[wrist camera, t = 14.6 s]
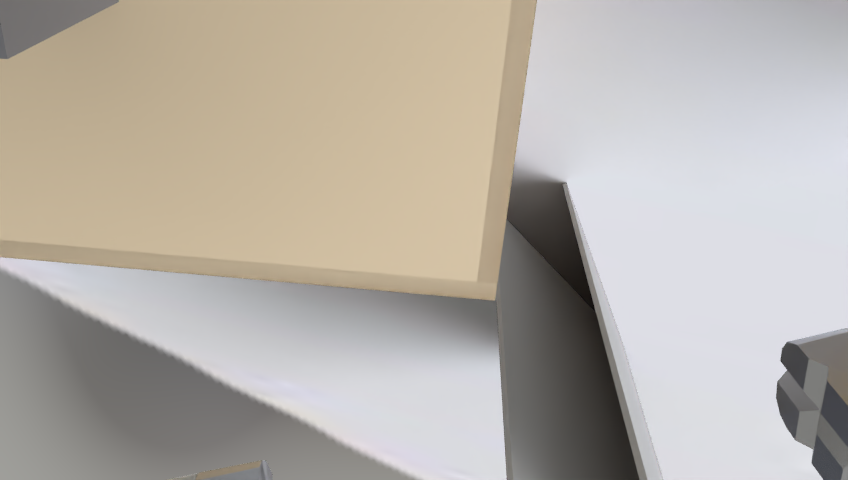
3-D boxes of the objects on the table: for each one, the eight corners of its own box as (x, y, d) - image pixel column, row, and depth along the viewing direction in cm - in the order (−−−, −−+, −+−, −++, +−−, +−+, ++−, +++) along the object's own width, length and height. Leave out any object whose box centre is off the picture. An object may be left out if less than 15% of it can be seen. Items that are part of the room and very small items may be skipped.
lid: (585, -412, 22) (658, -557, 13) (493, 269, 32) (501, 422, 24) (-133, -469, 22) (-499, -646, 13) (14, 227, 32) (-140, 365, 24)
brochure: (490, 207, 54) (511, 575, 28) (566, 181, 53) (664, 540, 26) (552, 359, 60) (619, 780, 34) (621, 339, 59) (747, 760, 32)
